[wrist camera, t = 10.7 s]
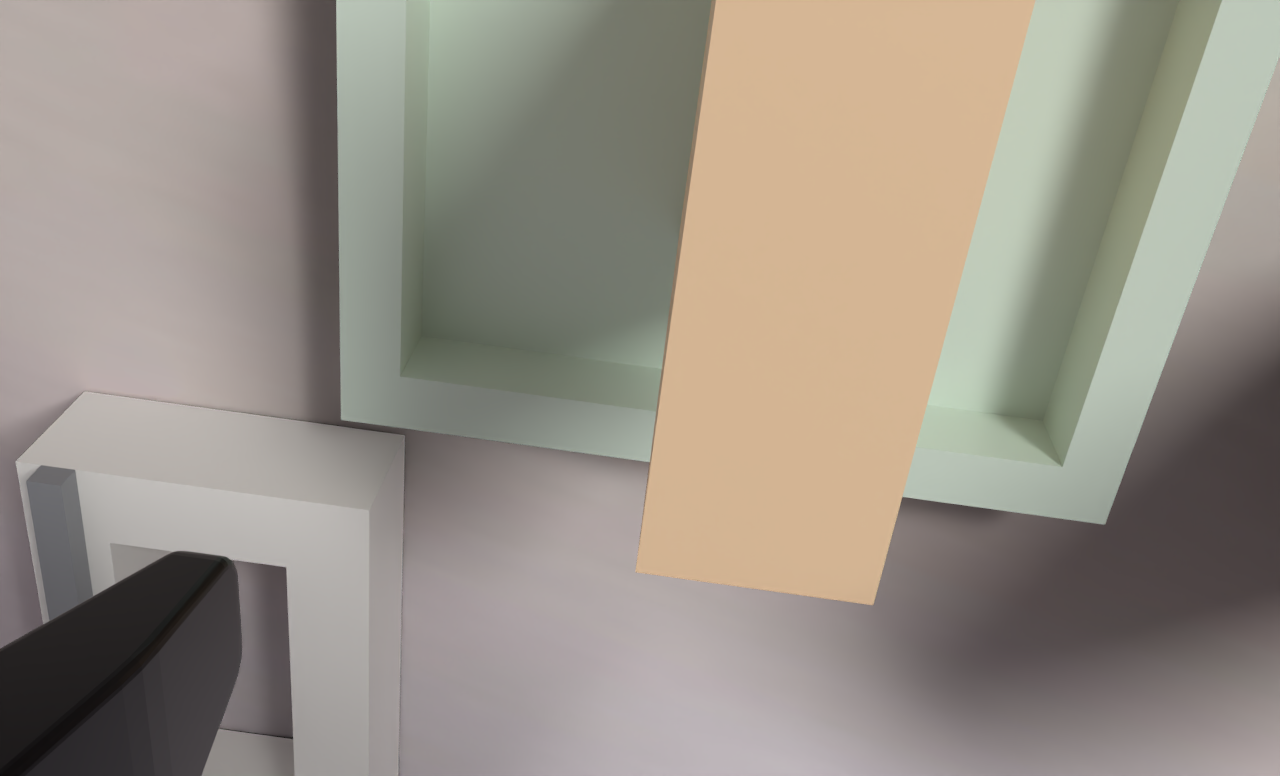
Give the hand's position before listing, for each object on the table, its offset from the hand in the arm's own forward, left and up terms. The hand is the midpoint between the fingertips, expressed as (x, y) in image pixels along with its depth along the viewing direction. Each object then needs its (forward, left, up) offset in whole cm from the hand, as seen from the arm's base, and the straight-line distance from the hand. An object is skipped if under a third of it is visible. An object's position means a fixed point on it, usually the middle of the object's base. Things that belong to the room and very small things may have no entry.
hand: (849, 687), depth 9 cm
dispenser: (-12, +9, -13) cm, 20 cm away
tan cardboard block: (+1, 0, -12) cm, 12 cm away
